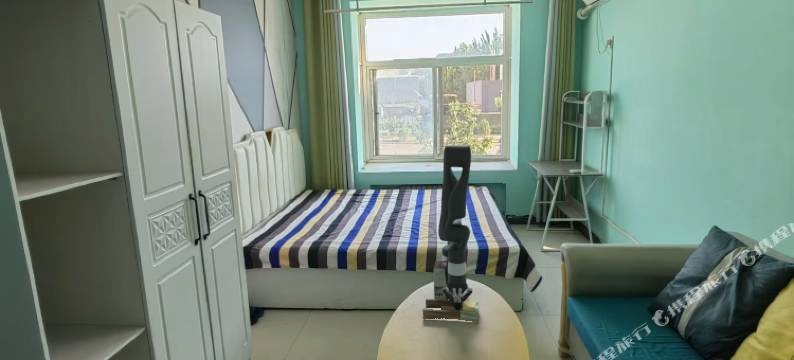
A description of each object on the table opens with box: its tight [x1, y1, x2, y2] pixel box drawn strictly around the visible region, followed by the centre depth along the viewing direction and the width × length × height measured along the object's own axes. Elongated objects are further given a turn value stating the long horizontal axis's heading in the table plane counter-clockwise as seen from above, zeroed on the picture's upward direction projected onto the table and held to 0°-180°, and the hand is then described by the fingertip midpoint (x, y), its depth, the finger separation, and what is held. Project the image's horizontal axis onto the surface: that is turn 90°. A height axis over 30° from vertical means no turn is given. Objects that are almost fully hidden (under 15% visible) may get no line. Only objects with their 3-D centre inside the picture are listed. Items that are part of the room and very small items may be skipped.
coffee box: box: [433, 260, 451, 300], centre depth 208 cm, size 9×6×16 cm
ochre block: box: [463, 300, 476, 312], centre depth 190 cm, size 5×5×4 cm
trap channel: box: [422, 298, 479, 324], centre depth 193 cm, size 10×23×6 cm, turn 79°
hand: (457, 309), depth 192 cm, fingers closed
